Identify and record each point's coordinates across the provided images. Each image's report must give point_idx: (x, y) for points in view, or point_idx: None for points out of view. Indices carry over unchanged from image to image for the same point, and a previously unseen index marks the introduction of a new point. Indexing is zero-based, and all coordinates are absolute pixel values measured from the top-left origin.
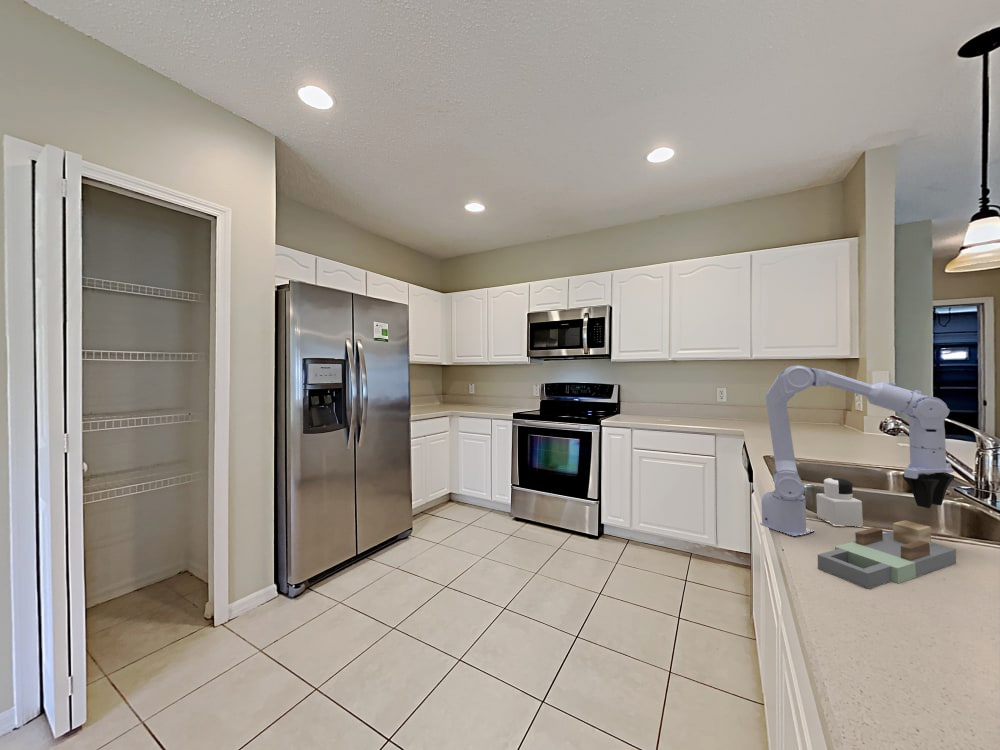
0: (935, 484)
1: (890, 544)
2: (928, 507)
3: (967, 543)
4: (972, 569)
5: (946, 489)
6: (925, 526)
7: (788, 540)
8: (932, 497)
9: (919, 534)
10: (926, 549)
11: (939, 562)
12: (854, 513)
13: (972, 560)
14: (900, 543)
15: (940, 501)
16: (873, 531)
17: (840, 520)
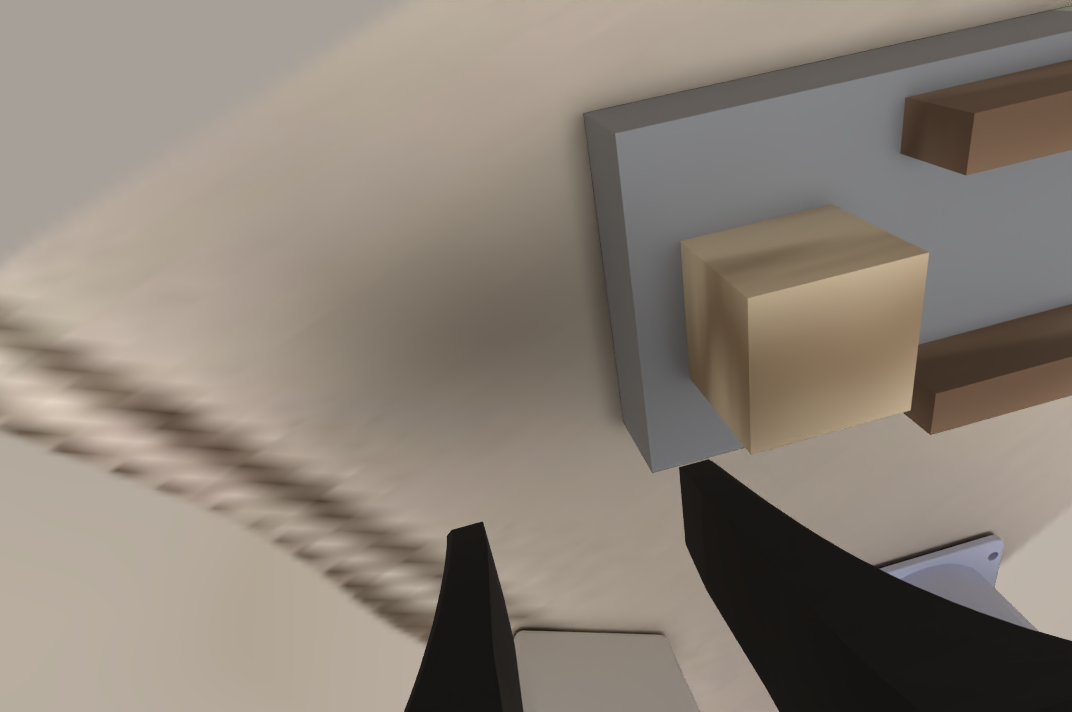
0: (949, 665)
1: None
2: (716, 465)
3: (94, 368)
4: (593, 6)
5: (424, 694)
6: (779, 311)
7: (1050, 507)
8: (757, 535)
9: (894, 241)
10: (981, 95)
11: (816, 72)
12: (586, 706)
13: (412, 125)
14: None
15: (485, 554)
16: (1025, 374)
17: (651, 666)
